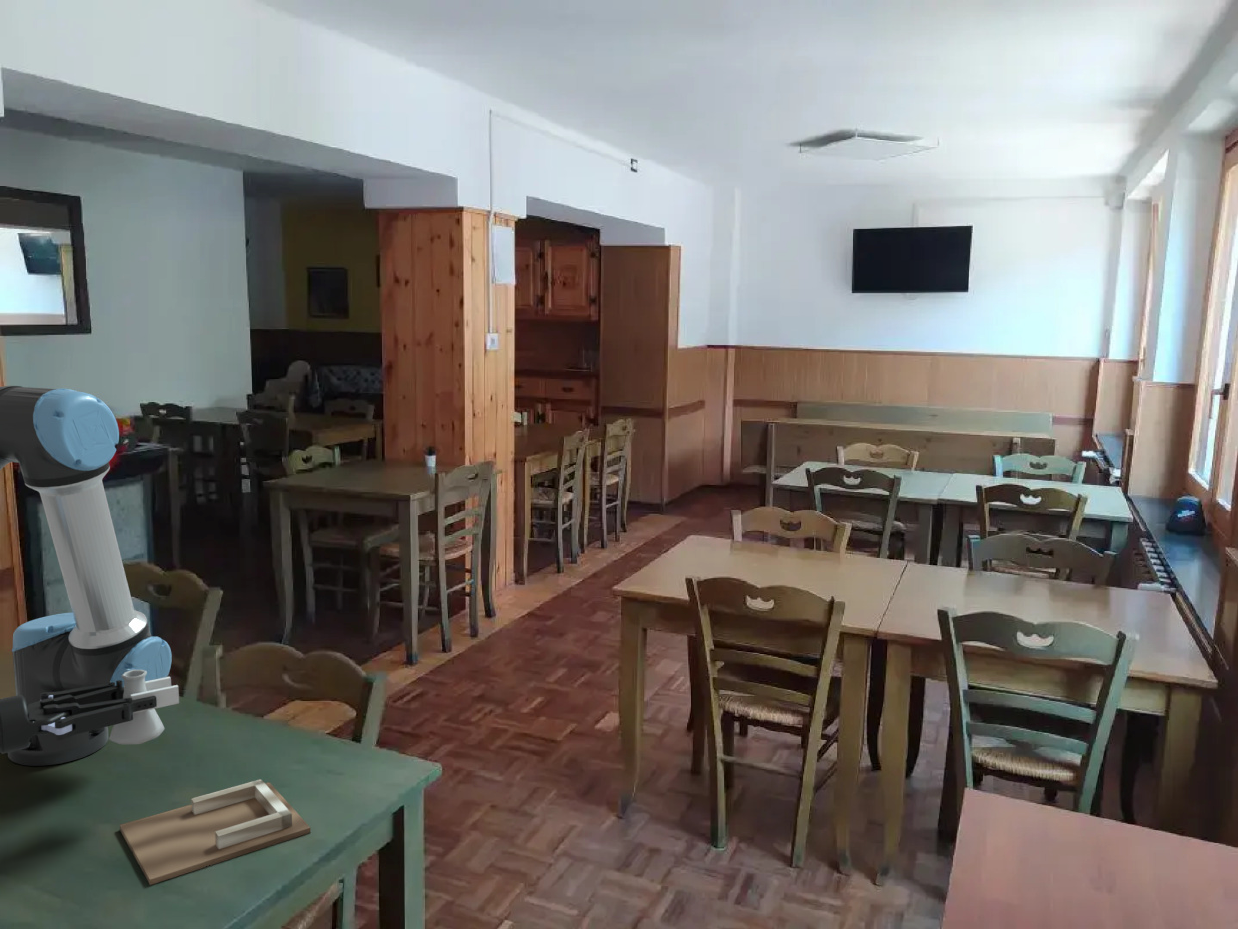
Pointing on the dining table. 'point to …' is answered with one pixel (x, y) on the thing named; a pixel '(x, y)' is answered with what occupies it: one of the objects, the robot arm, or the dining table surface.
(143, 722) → the flask
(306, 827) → the nook board
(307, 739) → the dining table surface
